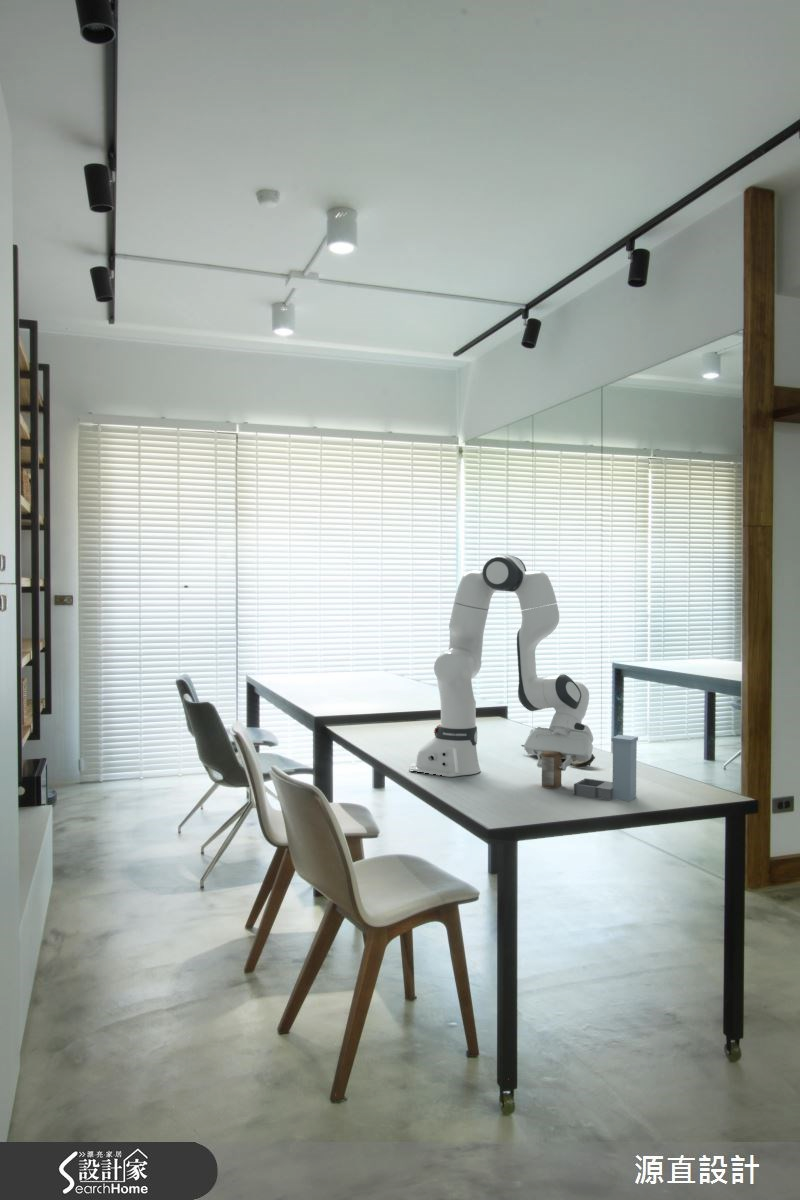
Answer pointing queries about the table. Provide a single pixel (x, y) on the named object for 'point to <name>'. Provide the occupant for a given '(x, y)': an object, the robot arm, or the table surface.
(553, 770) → the brown rectangular block
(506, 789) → the table surface
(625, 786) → the grey l-shaped post
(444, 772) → the robot arm
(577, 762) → the pulley block
